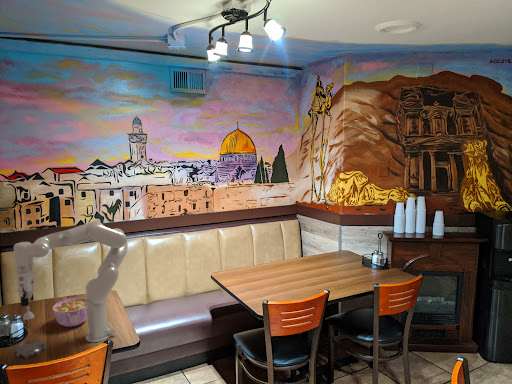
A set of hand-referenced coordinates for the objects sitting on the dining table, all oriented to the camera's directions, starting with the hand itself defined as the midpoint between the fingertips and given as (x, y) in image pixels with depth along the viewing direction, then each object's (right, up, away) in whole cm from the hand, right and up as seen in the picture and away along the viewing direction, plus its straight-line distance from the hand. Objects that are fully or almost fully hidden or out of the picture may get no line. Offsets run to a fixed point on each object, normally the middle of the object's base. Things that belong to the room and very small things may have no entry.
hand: (27, 302), depth 185 cm
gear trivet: (0, -25, +3) cm, 25 cm away
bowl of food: (+7, -22, +32) cm, 39 cm away
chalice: (0, -8, +1) cm, 8 cm away
